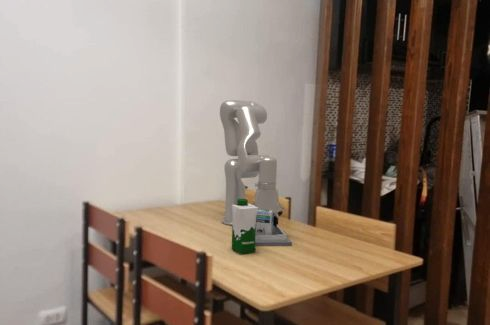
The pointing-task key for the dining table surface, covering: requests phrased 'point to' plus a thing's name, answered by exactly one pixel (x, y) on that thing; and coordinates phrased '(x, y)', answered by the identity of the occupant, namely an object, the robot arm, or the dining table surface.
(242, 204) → the milk carton
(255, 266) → the dining table surface
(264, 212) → the light bulb box
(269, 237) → the aluminium frame
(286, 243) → the dock board
